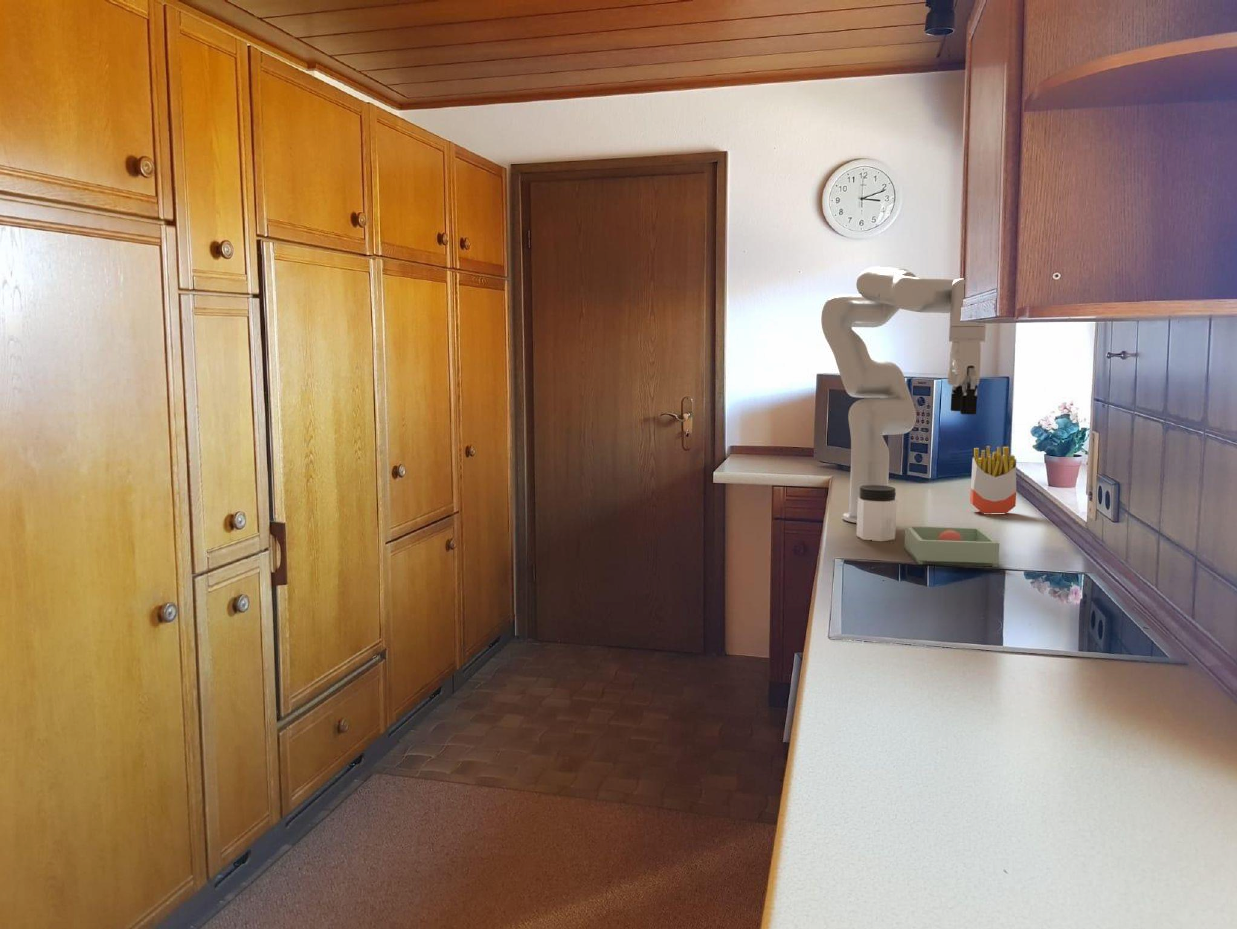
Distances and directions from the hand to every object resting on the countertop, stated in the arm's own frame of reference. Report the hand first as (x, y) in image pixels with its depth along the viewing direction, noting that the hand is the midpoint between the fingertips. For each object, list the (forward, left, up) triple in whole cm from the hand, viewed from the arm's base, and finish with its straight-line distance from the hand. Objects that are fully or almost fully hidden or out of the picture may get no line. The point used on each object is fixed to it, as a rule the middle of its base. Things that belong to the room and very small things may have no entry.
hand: (963, 412), depth 208 cm
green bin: (+12, -4, -30) cm, 33 cm away
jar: (-6, -17, -31) cm, 35 cm away
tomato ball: (+12, -4, -27) cm, 30 cm away
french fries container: (-44, +19, -31) cm, 57 cm away
